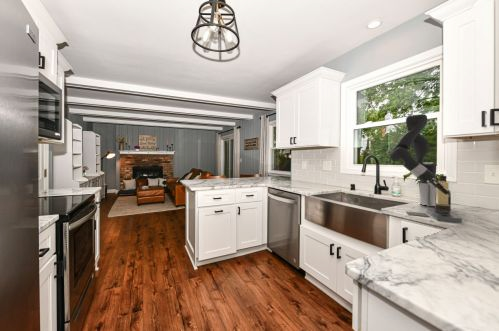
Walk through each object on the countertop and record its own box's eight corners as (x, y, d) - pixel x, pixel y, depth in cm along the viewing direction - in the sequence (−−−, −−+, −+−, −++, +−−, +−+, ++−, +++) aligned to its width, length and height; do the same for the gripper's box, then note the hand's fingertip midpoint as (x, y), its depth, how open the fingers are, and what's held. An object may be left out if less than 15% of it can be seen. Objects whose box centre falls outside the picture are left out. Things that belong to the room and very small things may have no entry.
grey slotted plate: (426, 211, 143) (426, 208, 143) (446, 213, 138) (446, 209, 138) (437, 220, 120) (437, 216, 120) (461, 223, 115) (461, 218, 115)
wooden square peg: (435, 202, 132) (436, 180, 132) (445, 203, 130) (446, 181, 130) (438, 204, 128) (438, 181, 128) (448, 204, 126) (448, 181, 126)
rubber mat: (406, 212, 141) (406, 211, 141) (425, 213, 137) (425, 213, 137) (408, 215, 133) (408, 214, 133) (429, 217, 128) (429, 216, 128)
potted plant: (444, 210, 147) (444, 175, 147) (453, 212, 140) (454, 176, 140) (432, 210, 148) (432, 175, 148) (441, 212, 140) (441, 176, 140)
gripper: (429, 168, 126) (456, 190, 120) (423, 168, 139) (448, 187, 133) (418, 177, 129) (444, 199, 123) (413, 176, 141) (437, 195, 136)
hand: (446, 192), depth 128 cm, fingers closed on wooden square peg, 4 cm apart
